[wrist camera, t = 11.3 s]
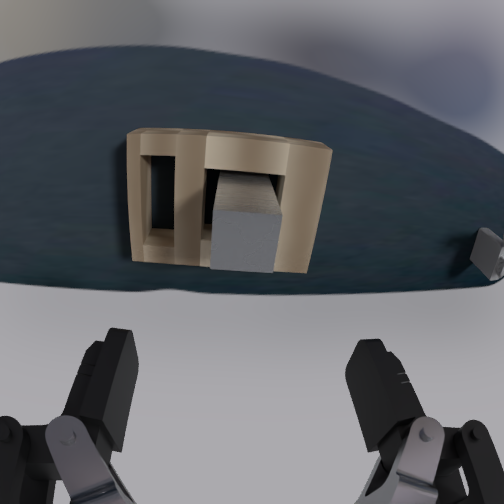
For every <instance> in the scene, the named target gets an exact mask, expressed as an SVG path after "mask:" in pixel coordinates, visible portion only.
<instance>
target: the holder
mask: <svg viewBox="0 0 504 504" xmlns="http://www.w3.org/2000/svg"><path fill="white" fill-rule="evenodd" d="M332 151H333V150H332V149H330V148H329V147H327V146H326V145H324V144H323V143H321V142H315V141H309V140H302V139H295V138H287V137H280V136H271V135H262V134H253V133H243V132H231V131H217V130H201V129H177V128H139V129H136V130H134V131H132V132H130V133H128V134H127V188H128V210H129V226H130V239H131V250H132V261H142V262H154V263H167V264H180V265H193V266H206V267H210V260H211V240H212V224H204V218H205V199H206V183H207V168H208V169H222V170H235V171H246V172H257V173H267V174H277V175H278V179H277V186H276V193H275V195H276V198H277V201H278V204H279V206H280V209H281V212H282V215H283V216H282V222H281V229H280V235H279V241H278V246H277V252H276V258H275V264H274V270H273V271H280V272H297V273H307V269H308V265H309V261H310V257H311V252H312V248H313V244H314V239H315V235H316V230H317V226H318V221H319V217H320V212H321V207H322V202H323V197H324V193H325V188H326V183H327V178H328V172H329V167H330V162H331V157H332ZM151 155H160V156H176V158H175V192H174V230H173V229H158V228H152V215H151Z"/></svg>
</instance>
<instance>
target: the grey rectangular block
mask: <svg viewBox="0 0 504 504" xmlns="http://www.w3.org/2000/svg"><path fill="white" fill-rule="evenodd" d="M282 216H283V215H282V212H281V209H280V206H279V204H278V201H277V198H276V195H275V192H274V190H273V187H272V184H271V181H270V179H269V176H268V174H267V173H257V172H246V171H235V170H222V169H220V175H219V180H218V186H217V191H216V197H215V203H214V208H213V222H212V240H211V260H210V269H219V270H234V271H249V272H265V273H273V270H274V264H275V258H276V252H277V246H278V241H279V235H280V229H281V222H282Z"/></svg>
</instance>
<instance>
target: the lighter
mask: <svg viewBox="0 0 504 504" xmlns="http://www.w3.org/2000/svg"><path fill="white" fill-rule="evenodd" d="M470 260H471V261H472V262H473V263H474V264H475V265H476V266H477V267H478V268H479V269H480V270H481V271H482V272H483V273H484V274H485V275H486V276H487V277H488V278H489V280H490V281H491V280H498V279H499V278H501V277H502V276H504V234H503V240H502V239H501V238H500V237H498V236H497V235H496V234H495V233H493V232H492V231H491V230H490V229H488V228H480V229H479V231H478V234H477V237H476V241H475V244H474V247H473V250H472V253H471V256H470Z"/></svg>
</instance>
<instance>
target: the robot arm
mask: <svg viewBox="0 0 504 504" xmlns="http://www.w3.org/2000/svg"><path fill="white" fill-rule="evenodd" d="M138 365H139V363H138V356H137V351H136V346H135V342H134V337H133V333H132V331H131V330H126V329H117V328H110V329H109V331H108V333H107V336H106V338H105V341H104V342H102V341H95V342H94V343H93V344H92V345H91V346H90V347H89V348H88V349H87V350H86V353H85V355H84V357H83V360H82V362H81V365H80V367H79V370H78V372H77V373H78V374H77V375H76V377H75V380H74V383H73V386H72V388H71V391H70V394H69V397H68V399H67V403H66V405H65V408H64V411H63V413H62V414H61V416H59V417H57V418H55V419H53V420H52V421H51V422H50V423H49V424H47V425H30V426H21V425H20V424H19V422H18V421H17V420H16V419H14V418H12V417H10V416H1V417H0V504H53V497H54V490H55V484H56V480H62V481H63V483H64V485H65V487H66V489H67V491H68V493H69V496H70V498H71V501H70V504H136V502H135V501H134V499H133V498H132V496H131V495H130V493H129V492H128V490H127V489H126V487H125V486H124V484H123V483H122V481H121V479H120V478H119V476H118V474H117V473H116V471H115V469H114V468H113V466H112V464H111V462H110V459H111V454H112V451H117V452H122V447H123V441H124V436H125V431H126V426H127V420H128V416H129V411H130V406H131V402H132V397H133V393H134V388H135V384H136V380H137V375H138V367H139V366H138ZM345 377H346V382H347V385H348V389H349V391H350V395H351V398H352V401H353V404H354V407H355V411H356V414H357V417H358V420H359V424H360V427H361V430H362V434H363V437H364V440H365V443H366V447H367V450H368V452H372V451H378V450H379V453H380V456H379V457H378V459H377V461H376V463H375V466H374V468H373V470H372V472H371V474H370V477H369V479H368V481H367V483H366V485H365V487H364V489H363V491H362V493H361V495H360V497H359V499H358V500H357V501H356V502H355V504H504V471H503V468H502V465H501V463H500V460H499V458H498V455H497V452H496V449H495V447H494V444H493V442H492V439H491V437H490V435H489V432H488V430H487V428H486V427H485V425H484V424H482V423H481V422H480V421H477V420H470V421H468V422H466V423H465V424H464V425H463V426H462V427H461V428H451V427H442V426H441V424H440V423H439V422H438V421H437V420H435V419H433V418H431V417H427V416H426V415H425V413H424V411H423V409H422V406H421V404H420V402H419V400H418V397H417V395H416V393H415V391H414V389H413V387H412V384H411V383H410V382H409V381H410V380H409V378H408V376H407V374H405V370H404V368H403V366H402V364H401V362H400V360H399V359H398V358H397V357H396V356H395V355H394V354H393V353H392V352H387V351H386V348H385V346H384V344H383V342H382V341H381V340H380V339H366V340H365V339H364V340H360V341H359V342H358V343H357V345H356V347H355V350H354V352H353V354H352V356H351V358H350V360H349V362H348V364H347V367H346V372H345ZM461 466H462V468H463V471H464V474H465V477H466V480H467V484H468V487H469V494H468V496H467V495H466V492H465V489H464V485H463V482H462V479H461V476H460V472H459V468H460V467H461Z"/></svg>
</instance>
